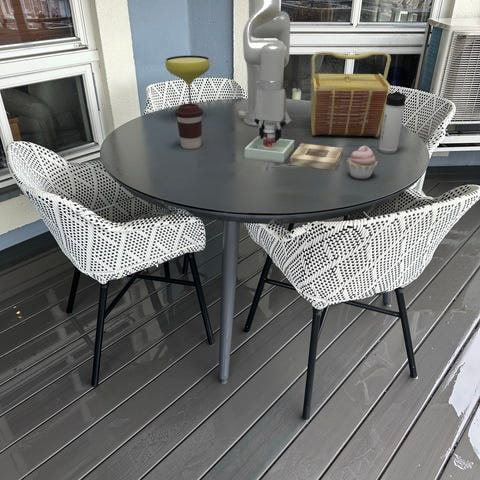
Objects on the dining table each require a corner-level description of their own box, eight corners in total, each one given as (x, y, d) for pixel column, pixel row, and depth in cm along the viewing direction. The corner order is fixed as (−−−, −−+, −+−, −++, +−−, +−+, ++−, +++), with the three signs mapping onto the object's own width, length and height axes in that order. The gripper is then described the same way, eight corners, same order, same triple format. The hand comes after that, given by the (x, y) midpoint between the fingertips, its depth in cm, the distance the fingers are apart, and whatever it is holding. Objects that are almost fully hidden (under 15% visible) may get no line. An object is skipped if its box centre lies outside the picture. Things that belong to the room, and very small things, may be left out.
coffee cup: (209, 143, 170) (207, 103, 162) (196, 152, 163) (193, 110, 155) (186, 140, 174) (183, 100, 166) (172, 148, 166) (169, 107, 158)
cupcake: (357, 183, 138) (361, 152, 133) (339, 172, 146) (343, 142, 140) (381, 178, 141) (386, 147, 136) (363, 168, 149) (367, 138, 143)
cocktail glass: (189, 111, 208) (185, 54, 195) (220, 118, 199) (218, 57, 186) (161, 121, 196) (155, 60, 183) (193, 128, 187) (189, 64, 174)
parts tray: (244, 158, 157) (244, 148, 155) (257, 145, 168) (257, 136, 167) (283, 163, 153) (283, 153, 151) (293, 149, 164) (294, 140, 162)
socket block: (290, 164, 152) (290, 157, 150) (300, 150, 164) (301, 143, 162) (334, 170, 147) (335, 163, 146) (342, 154, 159) (343, 148, 158)
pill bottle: (262, 145, 161) (262, 121, 157) (275, 144, 162) (276, 121, 157) (263, 149, 157) (264, 125, 153) (277, 149, 158) (278, 125, 153)
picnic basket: (374, 122, 192) (385, 46, 177) (385, 142, 170) (399, 57, 155) (305, 120, 195) (310, 46, 179) (307, 140, 173) (313, 57, 157)
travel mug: (396, 148, 164) (406, 92, 154) (396, 154, 159) (406, 97, 148) (379, 146, 166) (387, 91, 156) (377, 152, 161) (386, 95, 150)
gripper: (243, 85, 148) (243, 139, 158) (293, 89, 143) (290, 144, 152) (251, 80, 154) (250, 132, 164) (299, 84, 149) (296, 138, 158)
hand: (270, 138), depth 158 cm, fingers closed on pill bottle, 4 cm apart
